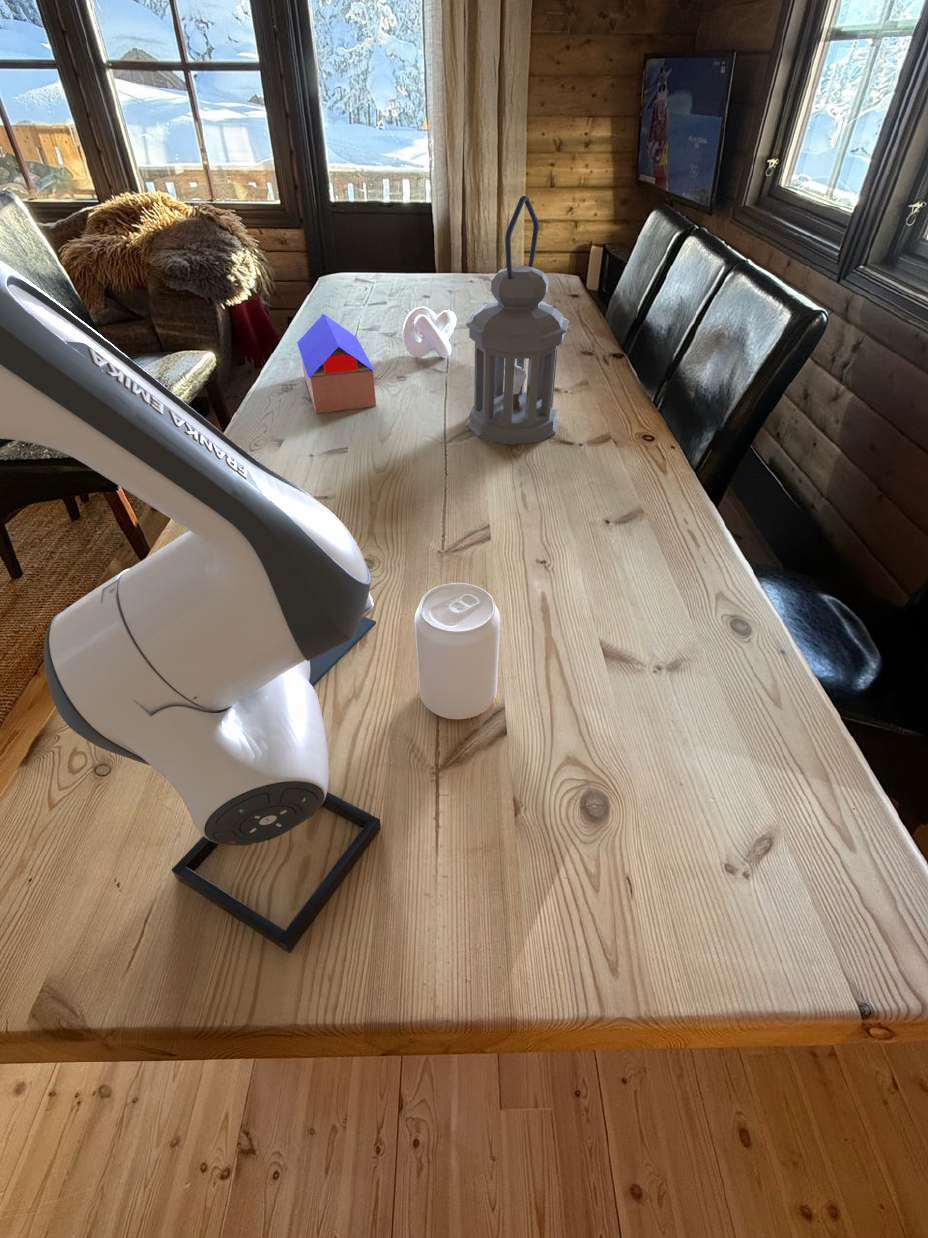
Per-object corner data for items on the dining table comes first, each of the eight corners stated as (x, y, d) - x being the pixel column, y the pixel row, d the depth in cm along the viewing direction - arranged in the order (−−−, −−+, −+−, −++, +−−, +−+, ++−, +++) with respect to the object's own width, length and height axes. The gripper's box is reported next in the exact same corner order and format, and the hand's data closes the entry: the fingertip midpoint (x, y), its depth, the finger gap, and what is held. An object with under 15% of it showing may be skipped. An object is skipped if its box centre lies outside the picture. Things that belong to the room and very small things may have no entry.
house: (359, 369, 139) (353, 310, 131) (378, 406, 125) (372, 342, 117) (302, 375, 136) (292, 316, 129) (314, 414, 122) (304, 349, 114)
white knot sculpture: (465, 361, 143) (465, 317, 137) (411, 366, 140) (409, 322, 134) (452, 344, 151) (451, 302, 145) (400, 349, 148) (398, 306, 142)
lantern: (485, 399, 127) (489, 184, 104) (569, 412, 122) (593, 190, 99) (452, 435, 115) (449, 201, 92) (544, 451, 111) (565, 209, 88)
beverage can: (403, 692, 69) (396, 604, 61) (460, 655, 73) (459, 569, 66) (455, 736, 65) (454, 648, 57) (512, 695, 69) (518, 607, 61)
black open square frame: (289, 954, 49) (286, 945, 48) (176, 879, 54) (170, 869, 53) (381, 828, 57) (379, 819, 56) (275, 772, 62) (272, 762, 61)
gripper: (375, 586, 50) (341, 498, 60) (85, 645, 45) (100, 539, 55) (382, 646, 55) (349, 555, 65) (117, 706, 50) (125, 597, 60)
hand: (232, 548), depth 60 cm, fingers closed on vase, 6 cm apart
